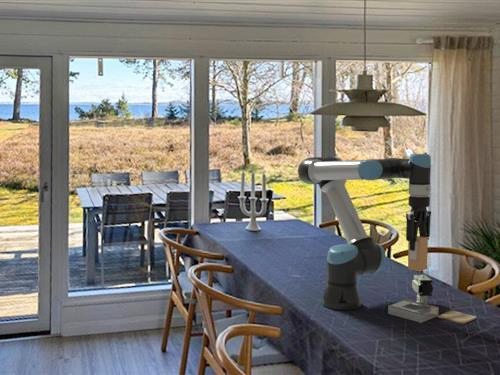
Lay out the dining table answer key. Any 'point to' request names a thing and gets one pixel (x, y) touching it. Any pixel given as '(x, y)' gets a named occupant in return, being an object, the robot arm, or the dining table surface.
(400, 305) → the grey flat block
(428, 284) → the pneumatic valve
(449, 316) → the pad
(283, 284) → the dining table surface
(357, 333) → the dining table surface
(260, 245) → the dining table surface
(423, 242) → the light wood tall block
